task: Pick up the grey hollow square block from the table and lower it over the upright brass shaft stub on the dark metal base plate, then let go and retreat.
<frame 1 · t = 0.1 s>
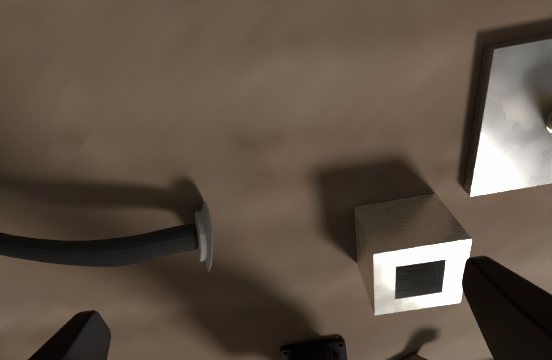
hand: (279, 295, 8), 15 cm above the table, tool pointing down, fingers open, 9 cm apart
grey hollow square block: (393, 230, 27), on the table
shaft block: (550, 112, 22), on the table
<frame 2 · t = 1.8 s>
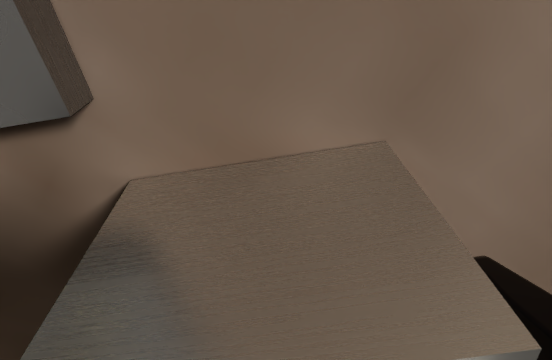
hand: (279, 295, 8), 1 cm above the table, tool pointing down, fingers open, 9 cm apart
grey hollow square block: (275, 254, 9), on the table
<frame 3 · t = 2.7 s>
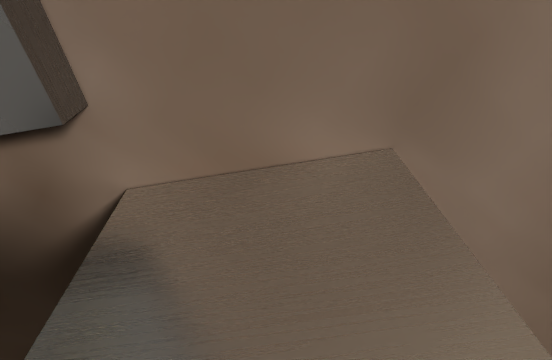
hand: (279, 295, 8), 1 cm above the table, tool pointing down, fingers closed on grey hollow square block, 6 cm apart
grey hollow square block: (277, 264, 9), on the table, touching gripper
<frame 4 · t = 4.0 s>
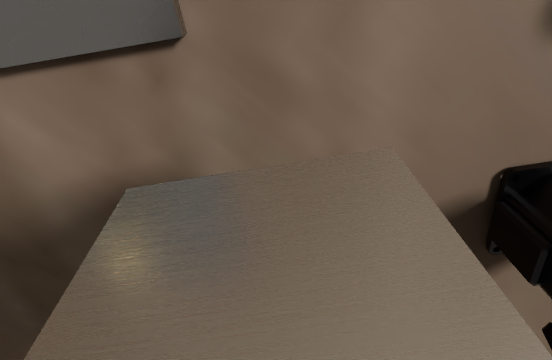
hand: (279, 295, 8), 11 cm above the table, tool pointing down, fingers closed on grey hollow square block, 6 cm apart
grey hollow square block: (277, 263, 9), point 10 cm above the table, touching gripper
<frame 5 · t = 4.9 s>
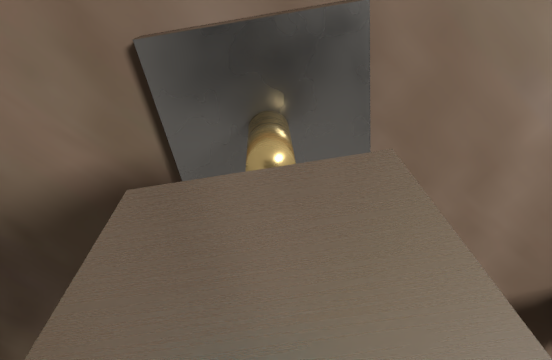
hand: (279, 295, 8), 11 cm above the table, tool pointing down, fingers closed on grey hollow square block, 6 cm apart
grey hollow square block: (277, 265, 9), point 10 cm above the table, touching gripper
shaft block: (268, 122, 18), on the table
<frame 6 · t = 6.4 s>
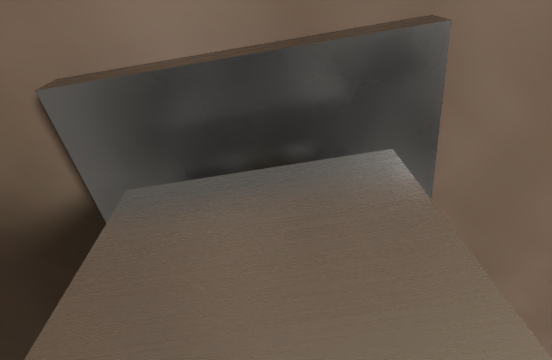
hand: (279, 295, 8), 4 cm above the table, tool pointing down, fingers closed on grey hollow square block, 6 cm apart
grey hollow square block: (277, 265, 9), point 3 cm above the table, touching gripper
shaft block: (270, 201, 11), on the table
when the fingers open (3 cm above the table, at t = 7.9 s): grey hollow square block stays where it is, resting on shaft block.
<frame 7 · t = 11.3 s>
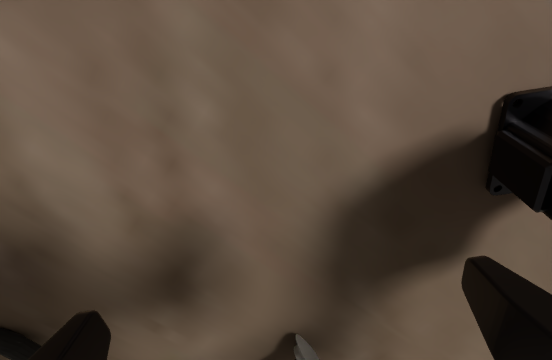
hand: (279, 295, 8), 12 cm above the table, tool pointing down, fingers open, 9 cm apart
hose: (115, 318, 27), on the table
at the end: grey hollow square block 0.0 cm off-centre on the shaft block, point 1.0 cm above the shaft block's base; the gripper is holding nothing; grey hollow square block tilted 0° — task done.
